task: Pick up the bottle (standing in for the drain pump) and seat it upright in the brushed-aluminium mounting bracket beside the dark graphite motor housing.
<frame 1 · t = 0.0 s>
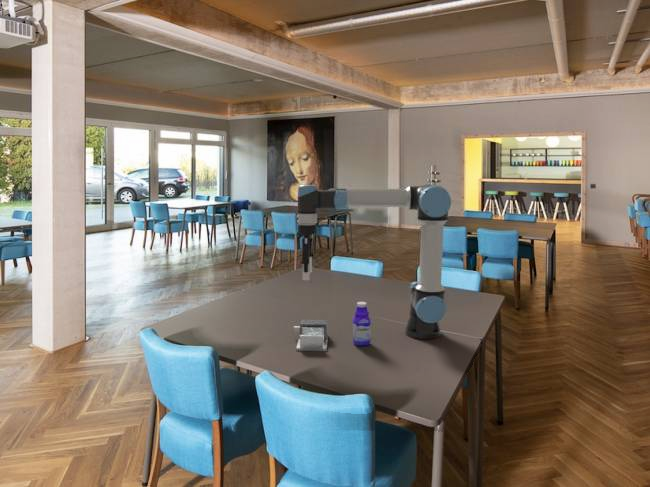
hand: (307, 276, 196), 28 cm above the table, fingers open, 13 cm apart
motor: (313, 337, 206), on the table
bottle: (361, 344, 199), on the table
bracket: (312, 345, 197), on the table
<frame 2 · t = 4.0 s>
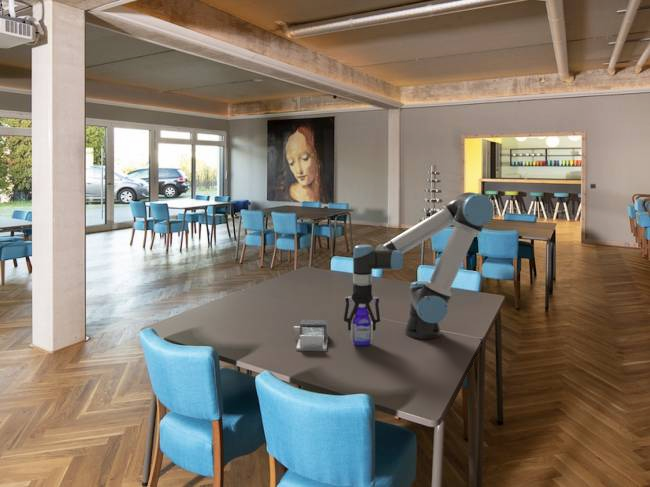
hand: (361, 337, 198), 3 cm above the table, fingers closed on bottle, 7 cm apart
bottle: (361, 344, 199), on the table, touching gripper
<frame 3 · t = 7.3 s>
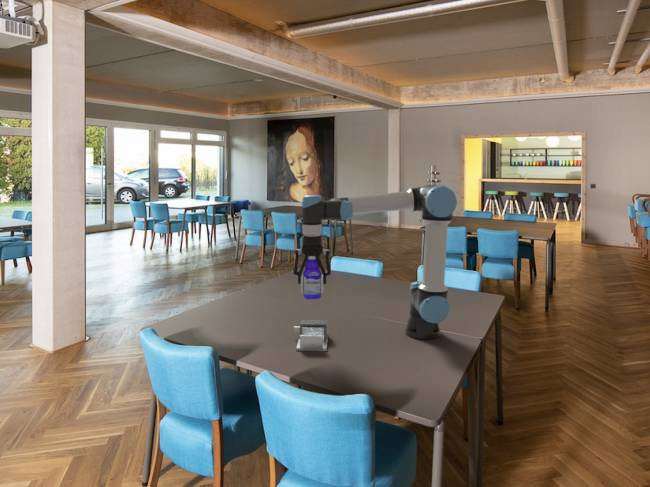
hand: (312, 291, 193), 23 cm above the table, fingers closed on bottle, 7 cm apart
bottle: (312, 298, 194), point 20 cm above the table, touching gripper
when the fingers open (5 cm above the table, at t = 10.8 s): bottle drops 1 cm, resting on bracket.
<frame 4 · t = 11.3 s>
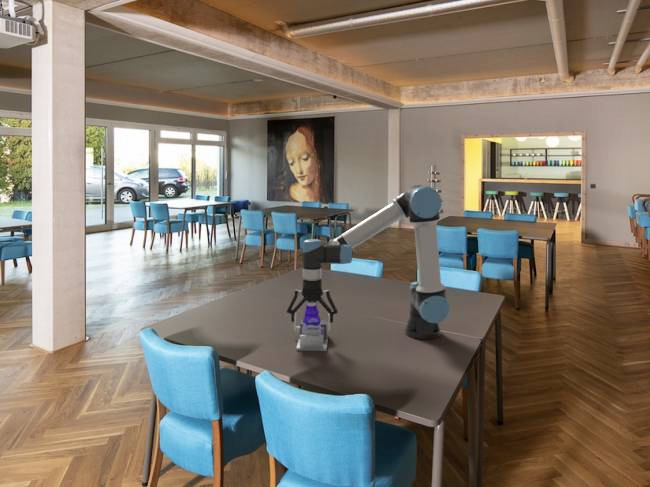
hand: (312, 329, 196), 7 cm above the table, fingers open, 13 cm apart
bottle: (311, 343, 197), point 1 cm above the table, touching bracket
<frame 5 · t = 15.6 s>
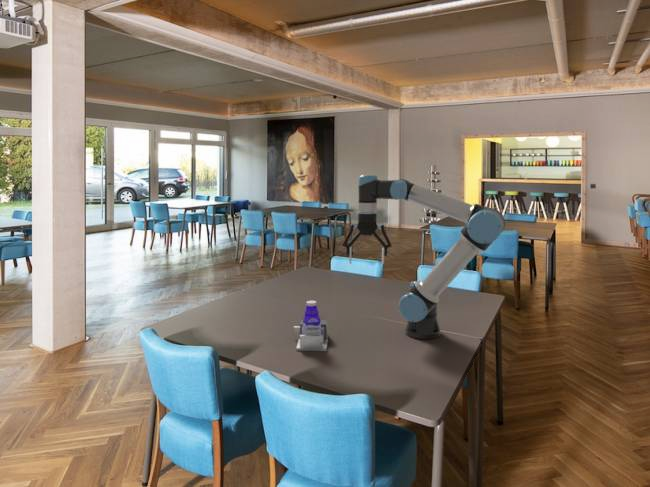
hand: (366, 263, 204), 32 cm above the table, fingers open, 13 cm apart
nothing on the table moved.
at the end: bottle 0.2 cm off-centre on the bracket, point 0.8 cm above the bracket's base; bottle tilted 0°; the gripper is holding nothing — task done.
